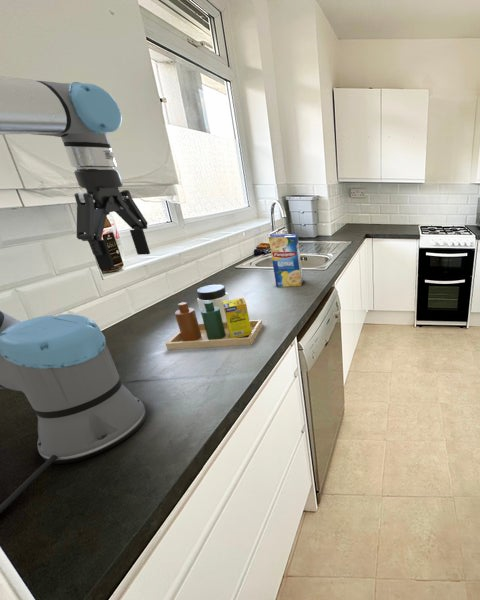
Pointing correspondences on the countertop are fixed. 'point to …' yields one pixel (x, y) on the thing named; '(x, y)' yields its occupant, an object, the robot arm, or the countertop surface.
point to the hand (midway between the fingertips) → (127, 260)
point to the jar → (213, 297)
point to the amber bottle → (187, 323)
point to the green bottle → (213, 321)
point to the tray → (204, 342)
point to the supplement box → (237, 318)
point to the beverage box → (286, 259)
